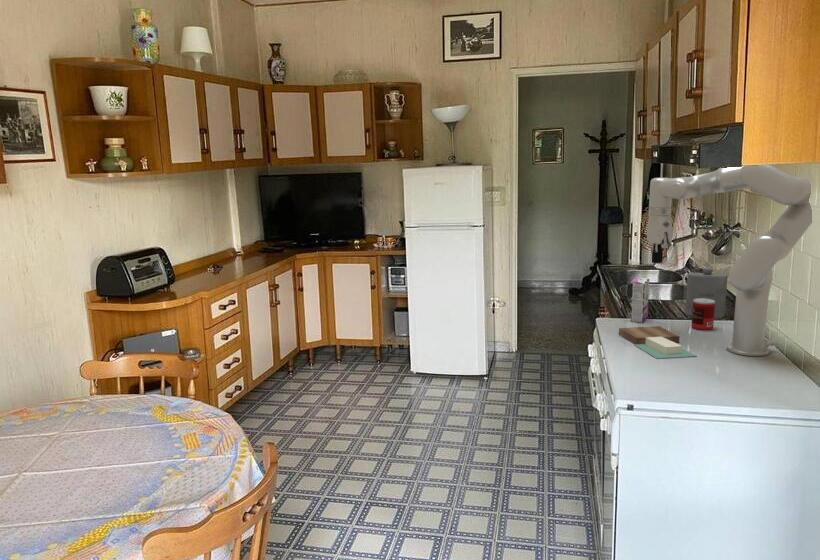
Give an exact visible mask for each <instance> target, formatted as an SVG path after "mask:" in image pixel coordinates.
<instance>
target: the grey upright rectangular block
mask: <svg viewBox="0 0 820 560" xmlns="http://www.w3.org/2000/svg"><path fill="white" fill-rule="evenodd" d="M713 271H714V270H713V268H711V267H705V268H702V272H689V273H687V278H686V279H687V280H686V291H685V309H684V315H685V316H687V317H692V310H693V300H694V299H698V298H704V299H711V300H714V301H715V312H714V319H723V318H725V315H726V314H725V313H726V312H725V311H726V299H727V288H728V287H727V286H728V278H729V275H727V274H726V273H725V274H724V273H713ZM722 317H723V318H722Z"/></svg>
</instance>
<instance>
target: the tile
mask: <svg viewBox="0 0 820 560" xmlns="http://www.w3.org/2000/svg"><path fill="white" fill-rule="evenodd" d="M645 345H647V346H649V347H651V348H653V349H655V350H658V351H660V352H662V353H664V354H677V353H682V348H683V345H681V344H680V343H675V342H672V341H670V340H668V339H666V338H663V337H648V338H646V341H645Z"/></svg>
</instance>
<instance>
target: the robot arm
mask: <svg viewBox="0 0 820 560" xmlns="http://www.w3.org/2000/svg"><path fill="white" fill-rule="evenodd" d="M807 178H808V177H805V176H792V175H790V174H788V173H786V172H784V171H782V170H780V169H779V167H778V165H777V164H776V165H758V166H742V167H727V168H721V167H719V168H717V170H714V171H711V172H708V173H702V174H698V175H693V176H692V175H691V176H681V177H673V178H670V177H654V178H652V179H651V180H650V183H649V184H650V185H649V198H648V199H649V200H648V201H649V203H648V220H647V221H648V222H647V227H646V241H647V242H648V244H649V245H650V247H651V252H652V253H651V263H654V264H661V263H663V256H664V255H663V254H664V251H665V249H667V248H668V245H671V244H672V241H673V222H672V204H673V200H672V199H675V200H685V199H692V198H697V197H702V196H706V195H707V196H708V195H713V194H717V193H718V194H720V193H722V194H723V193H728V192H729V193H730V192H733V191H739V190H744V189H750V188H752V189H754V190H755V191H756V192H758V193H760V194H762V195H764V196H766V197H767V198H769V199H771V200H773V201H774V202H776V203H777V204H780V205H784V206H787V208H786V209H785V210H784V212H782V214H781V215H780V216H779V217H778V219H777V220H776V221H775V223H774V224H773V226H772V227H771V228H770V229H769V230H768V231H767V232H766V233H763V234H760V235H758V236H757V237H755V238H754V239H753V240H752V241H751V242H750V243H749V244H748V246H747V247H746V248H745V250H744V251H743V252H742V253H741V255H740V256H739V257H738V259H737V260H736V261H735V263H734V264H733V265H732V267H731V268H730V271H729V274H728V278H729V282H730V284H731V285H732V287H733V288H735V289H736V290H737V291H736V296H735V304H734V305H735V307H734V316H733V317H734V318H733V328H732V329H733V331H732V341H731V342H729V343H728V344H727V345H726V351H729V352H730V353H733V354H736V355H741V356H746V357H747V356H749V357H761V356H762V357H764V356H767V355H769V353H770V350H769V348H768V347H770V346H771V347H772V346H775V347H776V346H778V344H779V342H778V340H777V339H769V338H766V327H767V320H768V319H767V318H768V308H769V307H768V306H769V298H770V297H769V296H770V292H771V291H770V290H771V287H772V281H773V270H772V269H773V267H775V265H776V264H777V263H778V262H779V261H782V260H783V259H785V258H786V257H787V256H788V255H789V254H790V253H791V251H792V249H793V248H794V247H795V246H796V245H797V244H798V242H799V241H800V239H801V238H802V237H803V236H804V234H805V233H806V231H807V230H808V229H809V227H811V225H812V223H813V222H812V209H811V206H810V203H809V198H810V195H811V184H810V181H809V180H808V179H809V178H808V179H807Z"/></svg>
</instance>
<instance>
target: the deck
mask: <svg viewBox="0 0 820 560" xmlns="http://www.w3.org/2000/svg"><path fill="white" fill-rule="evenodd" d="M618 335H619V336H620V335H621V337H622V338H623V339H625V338H626V340H627V341H629V342H630V343H632V344H633V345H634V344H645V341H646V338H648V337H663V338H666V339H668V340H670V341H672V342H675V343H677V344H680V338H681V336H680V335H679V334H676V333H674V332H672V331H670V330H668V329H666V328H665V327H662V326H660V325H658V326H656V325H655V326H638V327H637V326H633V327H619V328H618Z"/></svg>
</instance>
